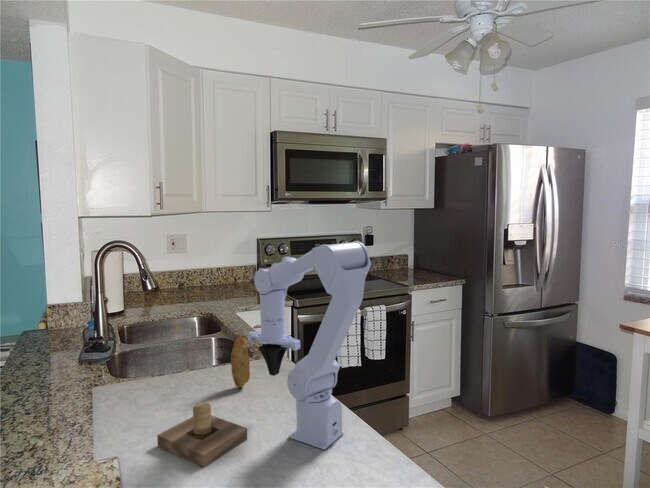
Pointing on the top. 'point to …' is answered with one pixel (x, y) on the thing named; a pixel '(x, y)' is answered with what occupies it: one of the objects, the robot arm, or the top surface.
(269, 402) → the top surface
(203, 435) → the dowel
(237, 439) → the board
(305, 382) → the robot arm
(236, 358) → the stone tool
